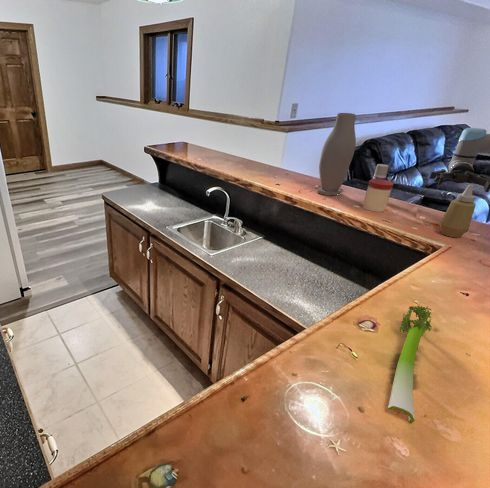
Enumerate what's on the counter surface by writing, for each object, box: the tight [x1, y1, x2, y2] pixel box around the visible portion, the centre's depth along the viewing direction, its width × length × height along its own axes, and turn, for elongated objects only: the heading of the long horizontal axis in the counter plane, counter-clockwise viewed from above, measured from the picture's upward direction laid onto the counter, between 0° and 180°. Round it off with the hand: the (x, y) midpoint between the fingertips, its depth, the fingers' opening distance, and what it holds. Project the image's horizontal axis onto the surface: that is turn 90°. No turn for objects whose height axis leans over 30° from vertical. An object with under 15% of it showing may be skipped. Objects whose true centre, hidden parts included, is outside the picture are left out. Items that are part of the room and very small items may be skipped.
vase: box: [316, 112, 357, 196], centre depth 155 cm, size 13×13×35 cm
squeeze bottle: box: [439, 183, 477, 239], centre depth 118 cm, size 8×8×18 cm
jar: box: [362, 184, 393, 213], centre depth 143 cm, size 8×8×10 cm
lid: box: [368, 178, 395, 190], centre depth 141 cm, size 8×8×2 cm
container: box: [372, 163, 390, 180], centre depth 153 cm, size 5×5×15 cm
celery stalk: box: [387, 305, 433, 424], centre depth 67 cm, size 6×7×30 cm
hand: (463, 184), depth 124 cm, fingers open, 13 cm apart
